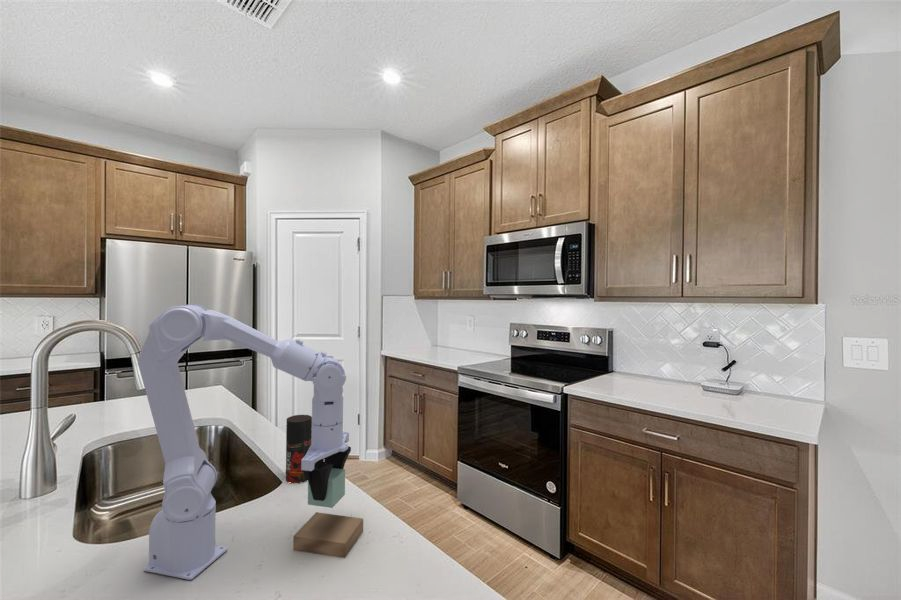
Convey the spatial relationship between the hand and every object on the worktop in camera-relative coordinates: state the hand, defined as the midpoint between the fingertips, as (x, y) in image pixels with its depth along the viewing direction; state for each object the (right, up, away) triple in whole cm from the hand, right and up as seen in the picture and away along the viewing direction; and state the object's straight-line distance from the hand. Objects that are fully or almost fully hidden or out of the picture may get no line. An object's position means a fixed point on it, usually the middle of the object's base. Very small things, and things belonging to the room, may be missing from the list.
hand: (326, 492), depth 77 cm
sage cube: (0, -1, 0) cm, 1 cm away
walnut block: (+1, -9, -1) cm, 9 cm away
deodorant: (-14, -8, +23) cm, 29 cm away
